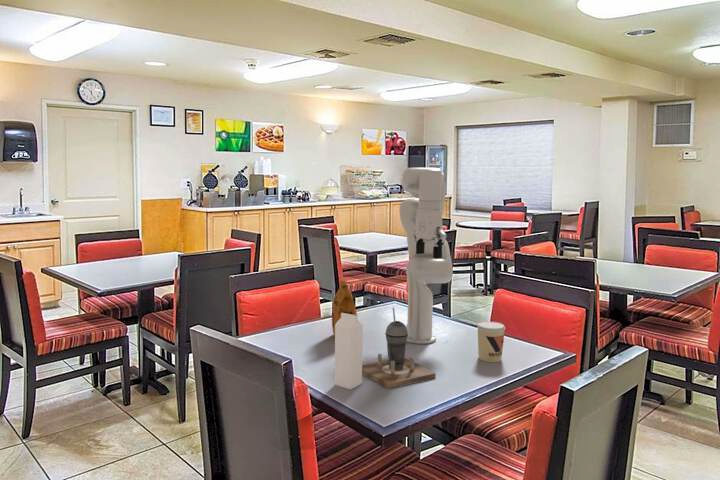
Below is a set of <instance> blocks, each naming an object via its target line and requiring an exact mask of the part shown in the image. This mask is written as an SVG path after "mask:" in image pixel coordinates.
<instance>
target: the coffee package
mask: <svg viewBox="0 0 720 480" xmlns="http://www.w3.org/2000/svg"><path fill="white" fill-rule="evenodd" d="M339 284H340V287H339V289H338V290H337V292H336V293H335V295H334V297H333V302H332V311H331V326H332V333H333V335H334V337H335V324H336V323H337V322H338V320H339V319H340V318H341V313H346V314H351V315H356V316H357V317H358V312H357V310H356V305H355V301H354V298H353V294H352V292H351V290H350V287H348V286H349V282H348V281H346V280H344V279H341V280H339ZM357 321H358V322H359V320H358V319H357Z"/></svg>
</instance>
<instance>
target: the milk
mask: <svg viewBox="0 0 720 480" xmlns="http://www.w3.org/2000/svg"><path fill="white" fill-rule="evenodd" d="M357 320H358V315H357V316H356V315H351V314H346V313H341V318H340V319H339V320H338V322H337V323H336V324H335V336H334V385H335V386H337V387H341V388H343V389H347V390H352V389H355V388H357V387H359V386H360V385H362V384H363V373H362V365H363V323H362V322H360V321H359V320H358V321H357Z"/></svg>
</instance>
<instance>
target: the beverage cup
mask: <svg viewBox="0 0 720 480" xmlns="http://www.w3.org/2000/svg"><path fill="white" fill-rule="evenodd" d="M392 315H393V316H392V317H393V321H392V322H390V323H389V324H388V325H387V327H386V330H385V333H384V335H385V339H386V348H387V360H388V363H389V369H390V370H391V361H395V371H402V370H403V366H404V358H405V357H406V348H407V346H406V345H407V336H408V332H407V328H406V325H405V323H403V322H402V321H399V320H396V313H395V307H392Z"/></svg>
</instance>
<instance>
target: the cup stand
mask: <svg viewBox="0 0 720 480" xmlns="http://www.w3.org/2000/svg"><path fill="white" fill-rule="evenodd" d="M382 358H383V357H382V353H378V354H377V361H374V362H369V363H364V364H362V375H365V376H366V377H368V378H369V379H371V380H372V381H374V382H376V383H377V382H378V383H377V384H379V385H381V386H382V385H383V387H384V388H386V389H387V390H388V388H389V389H392V387H393V388H397V387H396V386H398V387H401V386H400V385H402V386H405V384H406V385H410V384H409V383H411V384H414V382H415V383H420V382H423V380H424V381H427V380H433V379H435V378H436V375H437V374H436V372H434V371H433V370H430V369H428V368H426V367H424V366H422V365H420V364H418V363H416V362H415V357H414V356H410V359H408V358H404V366H403V370H402V371H395V361H391V370H390V369H389V363H388V359H386V360H382Z"/></svg>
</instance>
